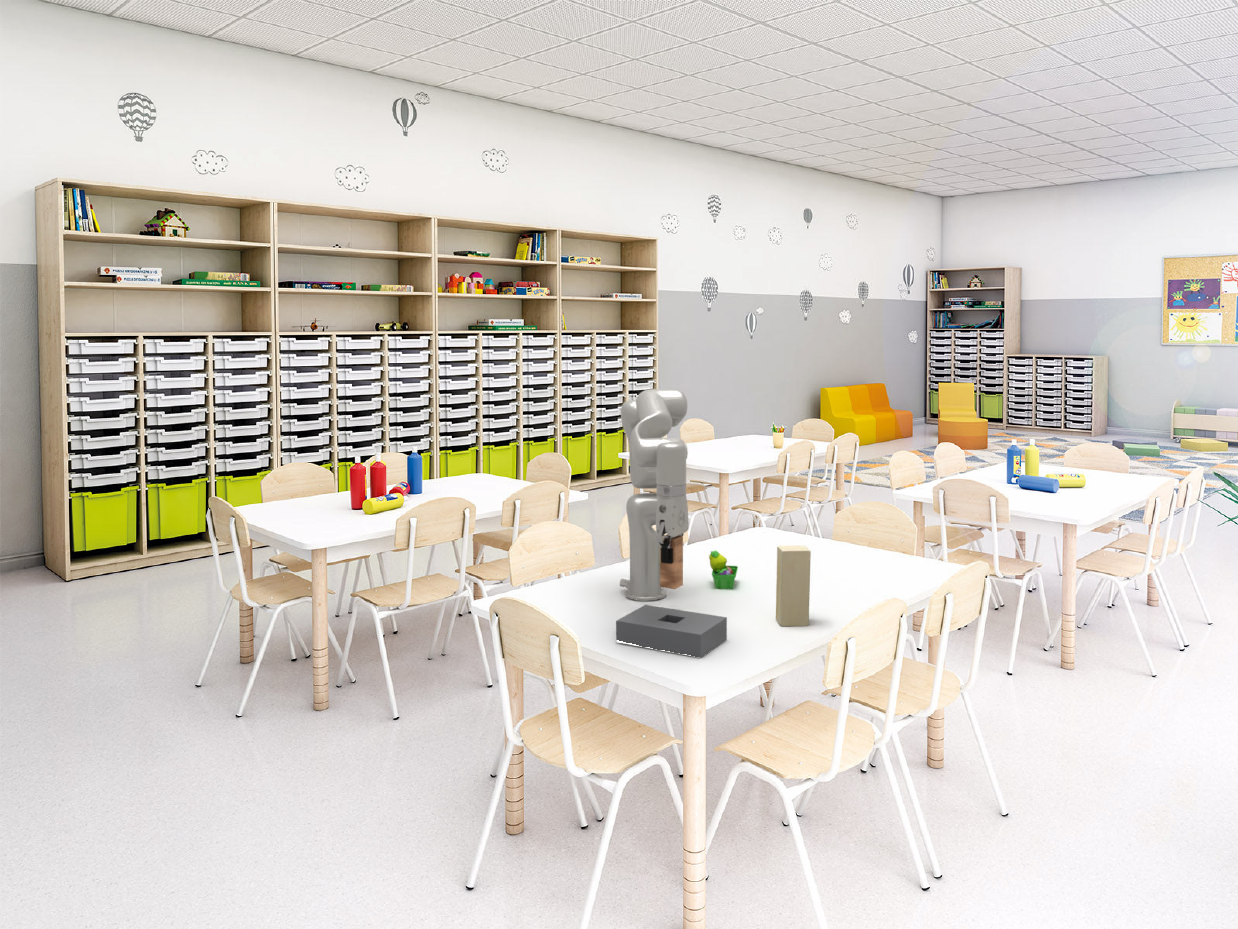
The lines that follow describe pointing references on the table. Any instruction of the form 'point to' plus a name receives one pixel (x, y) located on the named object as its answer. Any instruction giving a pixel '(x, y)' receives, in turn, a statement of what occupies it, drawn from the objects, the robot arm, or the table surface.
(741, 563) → the table surface
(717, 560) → the fruit basket
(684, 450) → the robot arm
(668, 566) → the wooden block
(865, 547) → the table surface
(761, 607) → the table surface
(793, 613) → the tall beige block
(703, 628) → the grey block with hole
